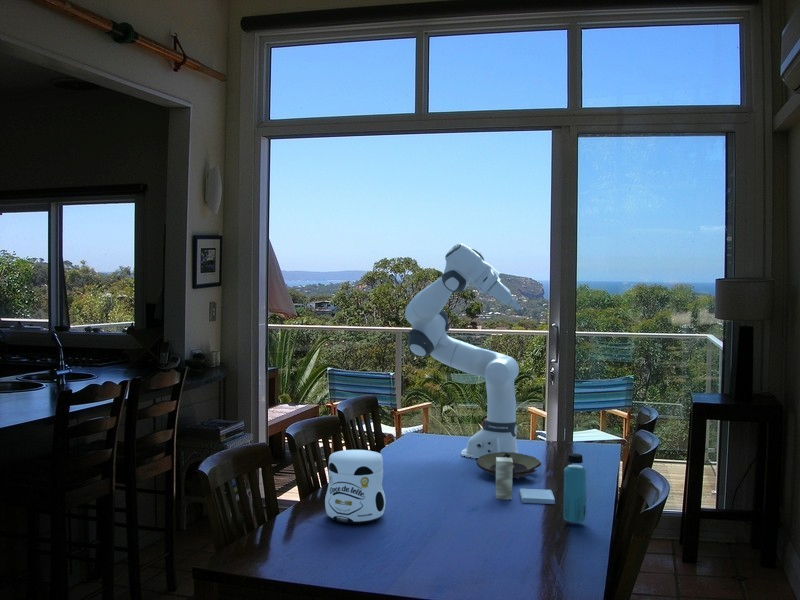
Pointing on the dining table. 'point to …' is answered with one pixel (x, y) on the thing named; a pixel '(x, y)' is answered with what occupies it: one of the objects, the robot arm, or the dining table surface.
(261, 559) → the dining table surface
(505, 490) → the maple block
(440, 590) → the dining table surface
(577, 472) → the beverage bottle
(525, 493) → the white square slab
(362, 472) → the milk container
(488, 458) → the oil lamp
